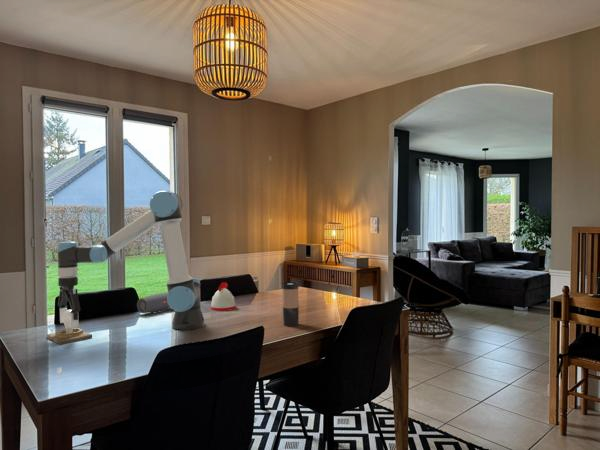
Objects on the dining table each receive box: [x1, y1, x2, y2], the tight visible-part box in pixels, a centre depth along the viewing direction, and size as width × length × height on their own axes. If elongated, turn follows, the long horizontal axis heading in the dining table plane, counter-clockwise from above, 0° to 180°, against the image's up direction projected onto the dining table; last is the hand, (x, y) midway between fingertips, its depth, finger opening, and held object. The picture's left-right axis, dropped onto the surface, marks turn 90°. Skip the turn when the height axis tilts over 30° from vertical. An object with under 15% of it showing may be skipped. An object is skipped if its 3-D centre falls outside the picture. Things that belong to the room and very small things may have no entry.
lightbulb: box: [61, 308, 73, 333], centre depth 186 cm, size 6×6×11 cm
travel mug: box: [282, 281, 300, 327], centre depth 204 cm, size 8×8×20 cm
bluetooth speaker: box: [136, 291, 171, 314], centre depth 239 cm, size 23×9×10 cm, turn 148°
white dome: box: [210, 281, 236, 312], centre depth 244 cm, size 14×14×15 cm
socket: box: [46, 327, 93, 346], centre depth 186 cm, size 16×13×3 cm
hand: (69, 324), depth 186 cm, fingers open, 13 cm apart
